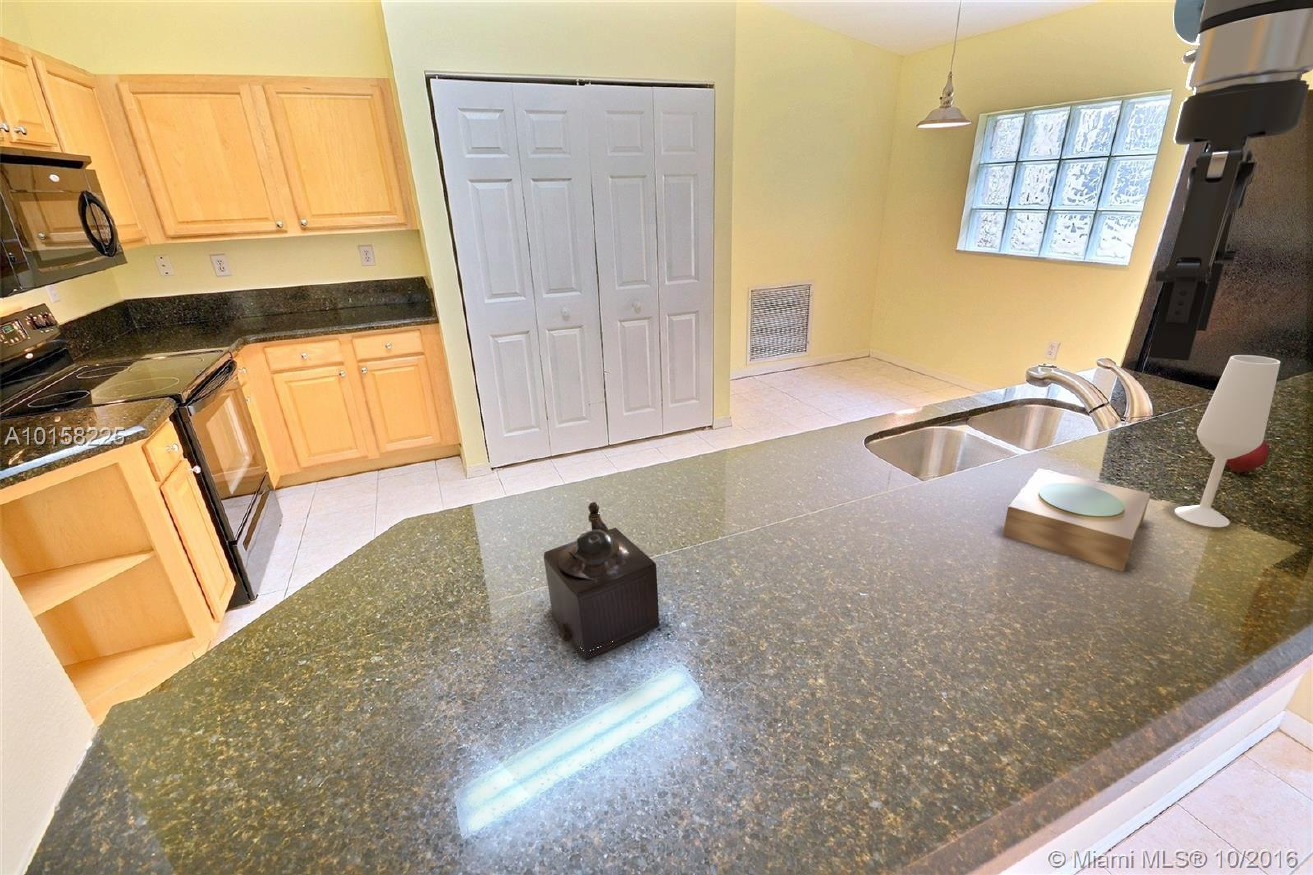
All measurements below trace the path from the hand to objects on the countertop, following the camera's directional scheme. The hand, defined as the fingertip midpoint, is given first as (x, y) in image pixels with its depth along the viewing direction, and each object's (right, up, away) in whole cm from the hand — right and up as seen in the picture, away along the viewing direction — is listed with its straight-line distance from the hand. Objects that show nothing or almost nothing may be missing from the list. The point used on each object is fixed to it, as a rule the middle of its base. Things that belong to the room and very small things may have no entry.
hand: (1178, 343), depth 55 cm
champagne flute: (+31, -21, +31) cm, 48 cm away
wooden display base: (+11, -23, +29) cm, 39 cm away
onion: (+48, -15, +43) cm, 66 cm away
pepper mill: (-55, -33, +15) cm, 66 cm away
